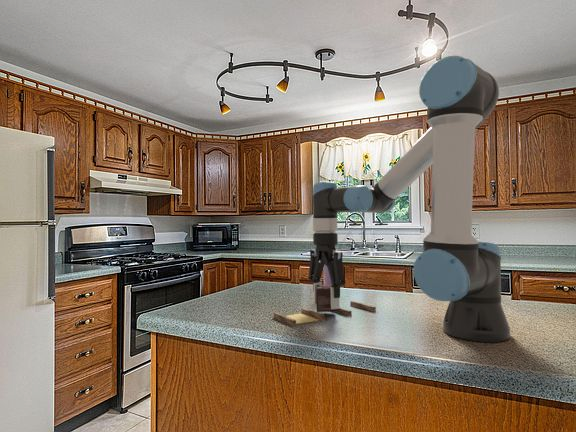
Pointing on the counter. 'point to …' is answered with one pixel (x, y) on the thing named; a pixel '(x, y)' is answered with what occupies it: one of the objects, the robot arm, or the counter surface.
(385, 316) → the counter surface
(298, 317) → the pad
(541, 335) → the counter surface
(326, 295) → the box
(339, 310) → the notch rack
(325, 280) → the beverage can
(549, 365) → the counter surface
